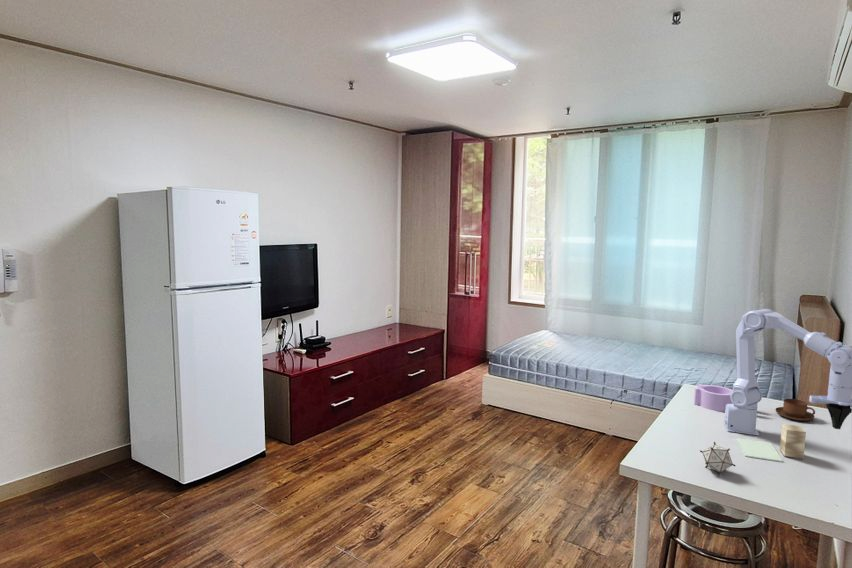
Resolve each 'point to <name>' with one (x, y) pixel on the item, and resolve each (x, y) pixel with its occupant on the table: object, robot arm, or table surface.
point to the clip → (712, 397)
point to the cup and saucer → (795, 410)
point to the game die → (717, 458)
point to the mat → (758, 450)
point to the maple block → (792, 441)
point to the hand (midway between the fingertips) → (836, 427)
